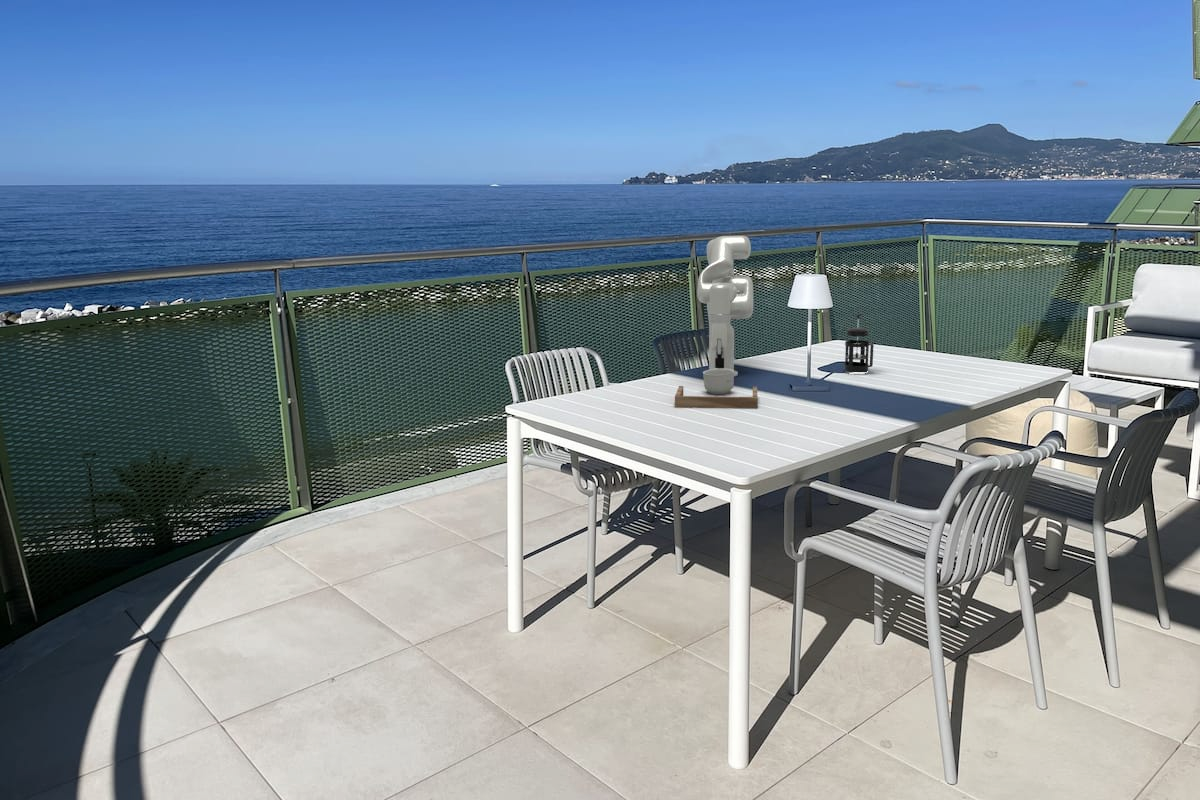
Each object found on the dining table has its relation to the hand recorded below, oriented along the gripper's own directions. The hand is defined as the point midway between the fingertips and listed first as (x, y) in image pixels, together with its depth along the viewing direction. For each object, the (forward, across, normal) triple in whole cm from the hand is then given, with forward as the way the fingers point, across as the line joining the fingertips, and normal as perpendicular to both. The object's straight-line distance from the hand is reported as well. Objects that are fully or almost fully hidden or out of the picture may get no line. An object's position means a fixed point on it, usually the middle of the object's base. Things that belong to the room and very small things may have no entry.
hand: (719, 368), depth 315 cm
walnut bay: (+7, +24, 0) cm, 25 cm away
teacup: (+7, +9, 0) cm, 12 cm away
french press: (+6, -28, +52) cm, 59 cm away
